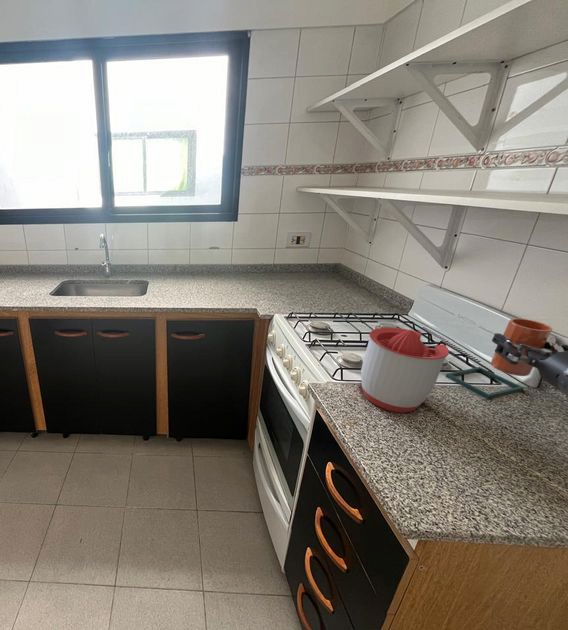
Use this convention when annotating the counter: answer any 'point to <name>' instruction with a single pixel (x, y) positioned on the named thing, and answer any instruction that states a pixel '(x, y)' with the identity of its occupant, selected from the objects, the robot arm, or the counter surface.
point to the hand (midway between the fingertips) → (513, 338)
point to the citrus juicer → (399, 369)
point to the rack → (478, 369)
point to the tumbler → (522, 333)
